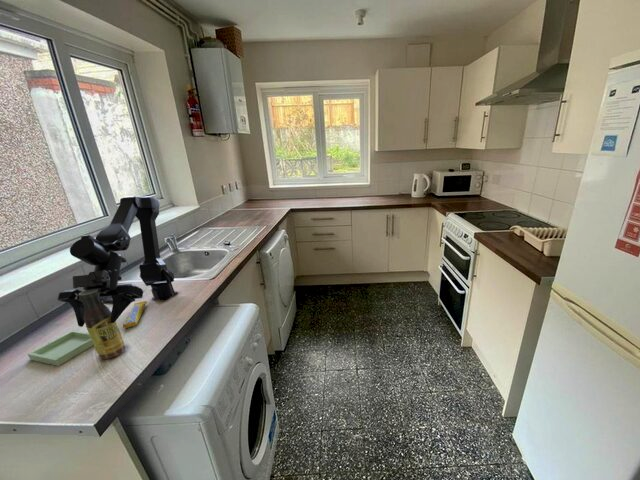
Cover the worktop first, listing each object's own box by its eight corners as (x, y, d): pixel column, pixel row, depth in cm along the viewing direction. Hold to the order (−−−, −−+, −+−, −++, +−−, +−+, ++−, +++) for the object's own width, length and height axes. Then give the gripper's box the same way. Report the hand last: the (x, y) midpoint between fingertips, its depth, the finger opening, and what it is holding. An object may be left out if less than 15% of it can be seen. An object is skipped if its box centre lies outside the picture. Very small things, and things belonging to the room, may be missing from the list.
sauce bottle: (111, 361, 80) (82, 299, 72) (94, 359, 81) (63, 297, 73) (132, 346, 86) (107, 287, 78) (115, 344, 87) (89, 286, 79)
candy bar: (137, 327, 95) (135, 322, 94) (122, 330, 93) (120, 325, 93) (148, 303, 109) (146, 299, 109) (135, 306, 108) (133, 302, 107)
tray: (75, 335, 92) (73, 330, 92) (101, 339, 89) (99, 334, 89) (30, 359, 82) (27, 354, 81) (58, 366, 79) (55, 360, 78)
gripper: (46, 264, 75) (29, 323, 69) (123, 257, 77) (113, 313, 72) (80, 278, 86) (68, 330, 80) (147, 271, 88) (140, 322, 82)
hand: (96, 324), depth 78 cm, fingers open, 8 cm apart
